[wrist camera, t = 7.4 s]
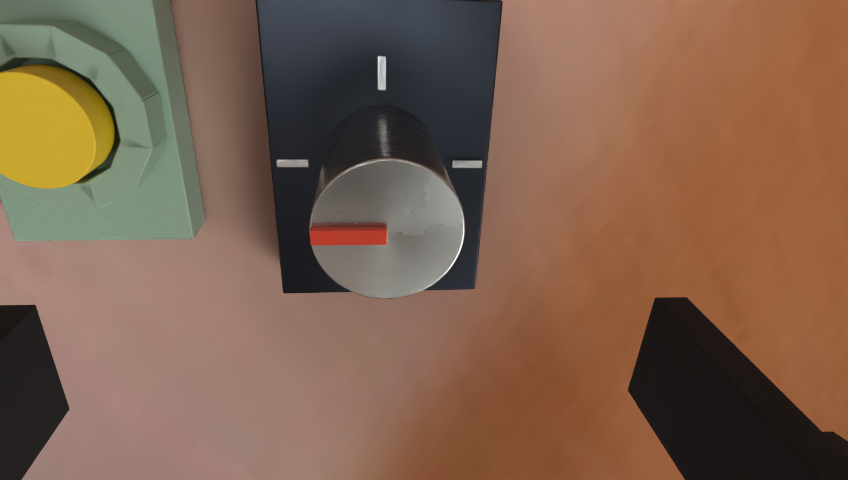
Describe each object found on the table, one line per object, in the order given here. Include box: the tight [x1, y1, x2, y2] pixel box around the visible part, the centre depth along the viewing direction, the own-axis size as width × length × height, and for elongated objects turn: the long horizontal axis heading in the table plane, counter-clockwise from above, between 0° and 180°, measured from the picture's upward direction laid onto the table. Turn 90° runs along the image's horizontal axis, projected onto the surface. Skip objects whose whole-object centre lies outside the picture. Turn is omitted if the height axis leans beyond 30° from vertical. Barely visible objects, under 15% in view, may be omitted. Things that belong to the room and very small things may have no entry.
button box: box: [0, 0, 205, 241], centre depth 22 cm, size 12×8×4 cm, turn 178°
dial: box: [309, 107, 465, 299], centre depth 21 cm, size 5×5×8 cm
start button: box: [0, 64, 115, 189], centre depth 20 cm, size 4×4×2 cm
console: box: [255, 0, 503, 293], centre depth 25 cm, size 14×10×3 cm
